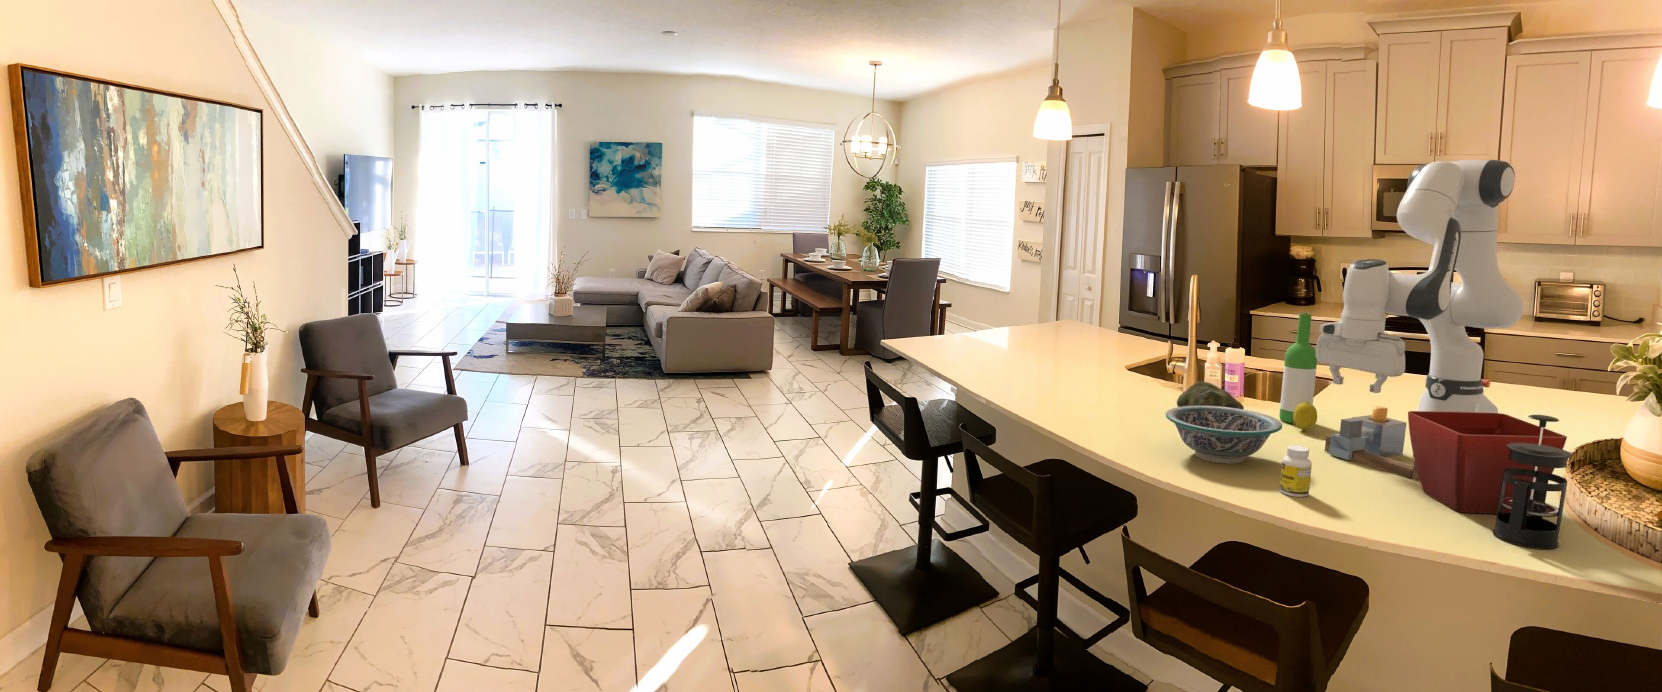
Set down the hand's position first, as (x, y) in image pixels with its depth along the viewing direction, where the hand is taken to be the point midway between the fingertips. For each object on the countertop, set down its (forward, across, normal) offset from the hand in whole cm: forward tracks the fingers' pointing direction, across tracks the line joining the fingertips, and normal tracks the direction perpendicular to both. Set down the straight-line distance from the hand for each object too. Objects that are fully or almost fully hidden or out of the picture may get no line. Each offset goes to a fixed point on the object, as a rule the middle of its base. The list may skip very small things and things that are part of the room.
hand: (1356, 388), depth 201 cm
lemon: (+17, +20, -9) cm, 28 cm away
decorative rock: (+17, +42, +3) cm, 45 cm away
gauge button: (+11, +1, -10) cm, 14 cm away
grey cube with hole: (+17, 0, -9) cm, 19 cm away
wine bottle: (+17, +28, -15) cm, 37 cm away
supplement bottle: (+16, -14, +35) cm, 41 cm away
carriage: (+17, 0, +1) cm, 17 cm away
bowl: (+16, +10, +30) cm, 35 cm away
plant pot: (+17, -32, +6) cm, 36 cm away
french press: (+17, -48, +17) cm, 53 cm away
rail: (+17, -6, +1) cm, 18 cm away
